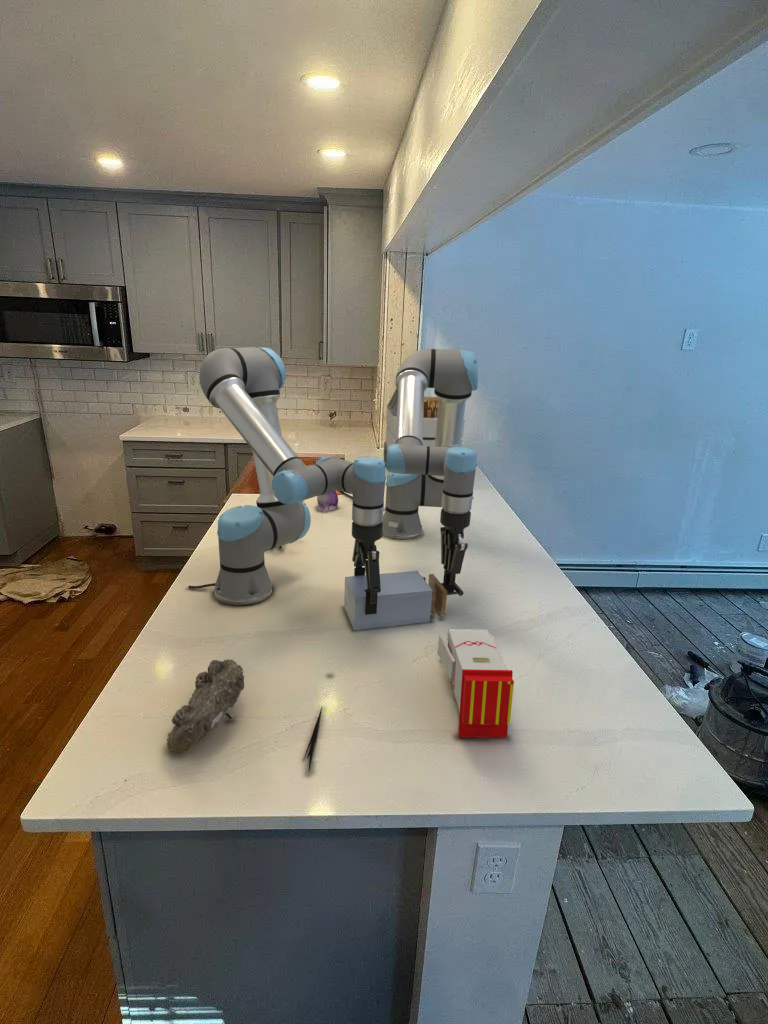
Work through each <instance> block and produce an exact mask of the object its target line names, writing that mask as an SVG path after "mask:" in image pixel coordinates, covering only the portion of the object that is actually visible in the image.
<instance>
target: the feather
mask: <svg viewBox="0 0 768 1024" xmlns="http://www.w3.org/2000/svg"><path fill="white" fill-rule="evenodd" d="M329 675H330V676H331V675H332V674H331V673H330V674H329ZM322 710H323V707H321V708H320V710H319V713H318V716H317V719H316V723H315V725H314V728H313V731H312V733H311V737H310V739H309V742H308V745H307V748H306V751H305V754H304V757H303V760H302V763H301V767H302V765H303V763H304V761H305V758H308V759H309V760H308V762H307V763H308V764H307V766H308V771H310V770H311V766H312V765H311V764H312V760H313V757H315V756H314V755H315V751H316V749H315V746H317V739H318V733H319V729H320V722H321V717H322V712H323V711H322ZM313 754H314V755H313ZM306 755H307V757H306Z"/></svg>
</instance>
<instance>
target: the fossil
mask: <svg viewBox="0 0 768 1024" xmlns="http://www.w3.org/2000/svg"><path fill="white" fill-rule="evenodd" d="M243 670H244V669H243V667H242V665H240V664H237V662H236V661H235V660H234V659H232V658H231V659H227V658H226V659H224V660H223V661H222V660H217V659H212V660H211V661H210V663H209V665H208V666H207V671H201V672H199V673H198V674H197V675H196V676H195V680H194V684H195V685H194V687H195V689H194V690H193V693H192V694H191V697H190V698H189V700H188V704H184V705H182V706H181V707H180V709H177V710H176V711H175V713H174V715H173V716H172V718H171V723H172V724H173V727H172V730H171V731H170V732H168V734H167V738H166V741H167V742H166V745H167V749H168V750H169V751H173V752H174V753H176V754H178V753H182V752H188V751H189V752H192V751H193V750H195V748H196V747H197V746H199V744H200V743H201V742H203V741H204V740H205V739H206V738H207V737H208V736H209V735H210V734H211V733H212V732H214V730H215V729H217V727H218V726H219V724H220V722H221V721H222V720H223V719H224V718H225V716H226V717H227V719H229V720H233V717H232V715H230V714H229V710H230V709H231V708H234V706H235V704H236V703H237V702H238V699H239V697H240V695H241V693H242V691H243V690H245V689H244V688H245V675H244V671H243Z"/></svg>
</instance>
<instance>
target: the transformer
mask: <svg viewBox="0 0 768 1024" xmlns="http://www.w3.org/2000/svg"><path fill="white" fill-rule="evenodd" d="M438 400H439V399H438V397H437V396H424V415H423V446H430V447H434V445H435V434H436V422H437V411H438ZM397 405H398V390H397V388H396V387H395V390H394V392H393V394H392V395H391V398H390V400H389V402H388V404H387V405H386V413H385V414H386V415H385V423H386V428H385V438H384V442H383V461H384V463H385V467H386V464H387V448H388V446H389V445H391V444H395V436H396V420H397ZM464 429H465V419H464V421H463V429H462V438H461V446H462V447H463V442H464V441H463V440H462V439H463V438H464V431H465V430H464Z"/></svg>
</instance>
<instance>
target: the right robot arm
mask: <svg viewBox="0 0 768 1024" xmlns="http://www.w3.org/2000/svg"><path fill="white" fill-rule="evenodd" d="M478 367H479V366H478V359H477V354H476V353H475V352H474V351H473V350H464V349H450V348H449V349H447V348H446V349H444V348H429V347H428V348H422V349H418V350H416V351H414V352H413V353H411V354H410V355H408V356H407V357H406V358H405V359H404V360H403V361H402V363H401V364H400V365H399V367H398V370H397V371H396V374H395V381H394V382H395V389H396V388H397V390H398V405H397V420H396V436H395V444H391V445H389V446H388V448H387V464H386V466H385V469H386V471H387V472H388V473H387V475H386V481H385V489H386V490H385V503H384V506H385V507H384V508H385V509H386V510H385V511H384V512H383V521H382V523H383V536H382V537H385V538H387V539H389V540H395V541H410V540H415V539H418V538H420V537H421V536H422V535H423V525H422V524H421V518H420V515H419V507H427V508H429V507H431V508H441V509H440V519H439V522H440V524H441V525H442V526H441V527H439V529H440V563H441V565H442V566H443V567H442V568H443V579H442V580H443V581H442V583H443V587H444V588H445V589H446V590H447V592H455V590H454V587H455V583H456V576H457V575H461V572H462V568H463V563H464V560H465V556H466V551H467V549H469V545H468V543H466V542H464V538H465V534H464V531H465V529H466V528H468V527H469V526H470V524H471V517H472V512H471V510H472V504H473V500H474V498H475V497H474V487H475V477H476V470H477V466H478V463H477V457H478V454H477V452H476V450H475V449H472V448H470V447H465V446H463V445H462V446H461V440H462V439H463V438H462V429H463V421H464V420H465V411H466V404H467V403H466V402H467V401H468V399H470V398H472V393H473V392H474V391H477V390H478V386H479V371H478V370H479V368H478ZM427 388H428V389H433V393H434V395H435V397H438V399H439V400H438V411H437V422H436V434H435V445H434V447H430V446H423V415H424V397H425V392H426V390H427ZM464 422H465V421H464ZM338 493H340V494H342V495H344V496H345V497H348V498H349V499H351V500H353V495H351V494H349V493H346V492H343V491H338Z"/></svg>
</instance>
